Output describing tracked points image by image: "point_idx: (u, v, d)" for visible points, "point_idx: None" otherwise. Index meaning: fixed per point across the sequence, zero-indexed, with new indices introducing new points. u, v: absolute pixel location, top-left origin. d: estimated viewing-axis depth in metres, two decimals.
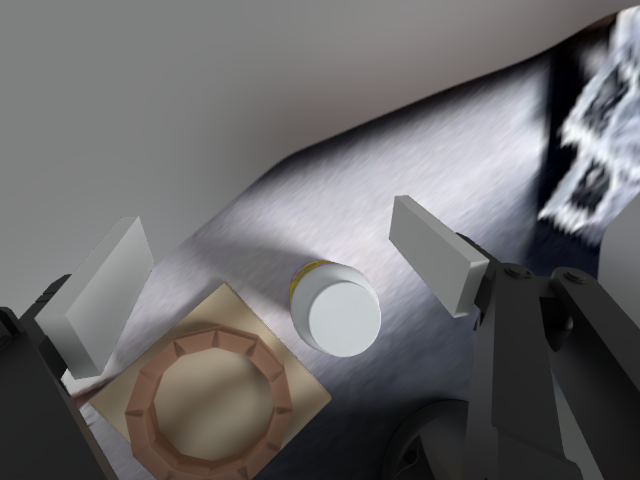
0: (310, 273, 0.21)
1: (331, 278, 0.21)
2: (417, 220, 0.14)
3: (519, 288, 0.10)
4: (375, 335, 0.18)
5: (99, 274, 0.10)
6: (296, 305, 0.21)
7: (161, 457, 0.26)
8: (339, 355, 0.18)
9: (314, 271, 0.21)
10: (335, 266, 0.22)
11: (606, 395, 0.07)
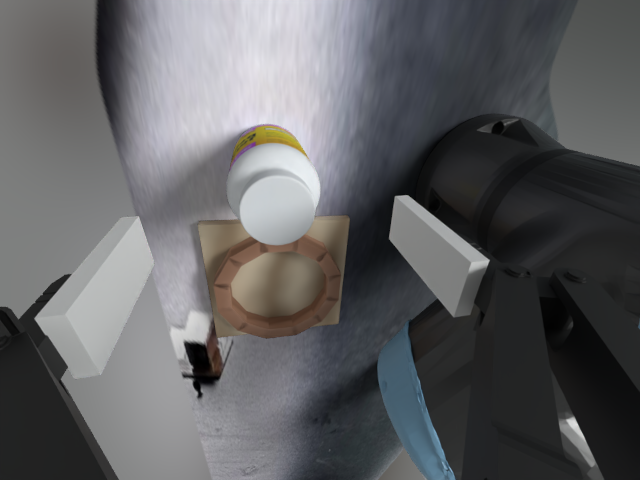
0: (226, 189, 0.20)
1: (243, 181, 0.19)
2: (417, 220, 0.14)
3: (519, 288, 0.10)
4: (312, 201, 0.18)
5: (99, 274, 0.10)
6: None
7: (280, 328, 0.36)
8: (299, 237, 0.19)
9: (227, 185, 0.20)
10: (237, 164, 0.19)
11: (606, 395, 0.07)
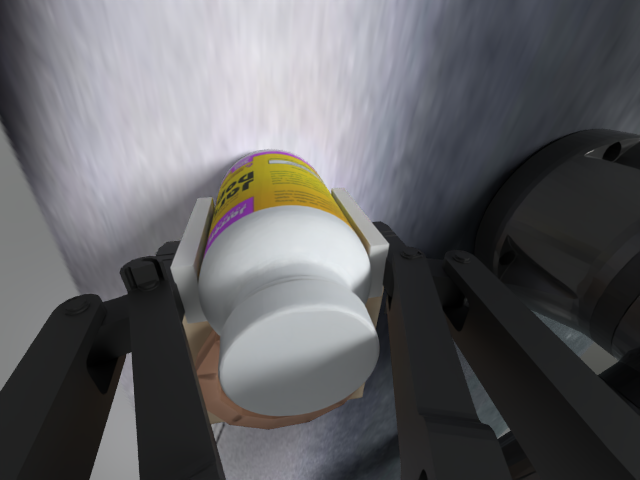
0: (199, 293, 0.10)
1: (229, 287, 0.09)
2: (343, 210, 0.15)
3: (414, 269, 0.10)
4: (375, 342, 0.08)
5: (201, 239, 0.12)
6: None
7: (287, 416, 0.27)
8: (343, 398, 0.09)
9: (199, 287, 0.10)
10: (216, 253, 0.10)
11: (507, 367, 0.08)
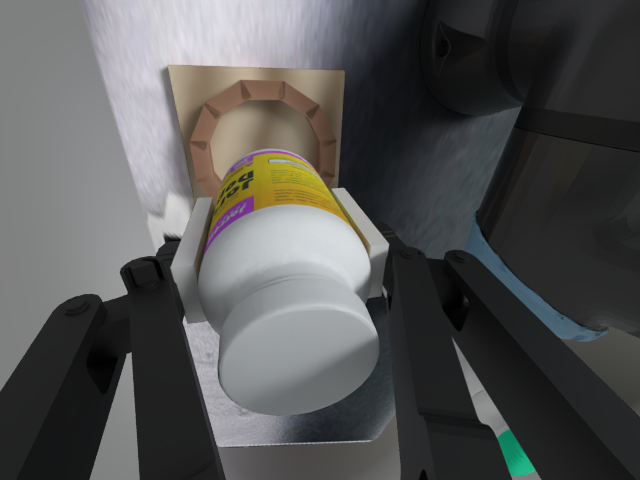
0: (198, 292, 0.10)
1: (229, 287, 0.09)
2: (343, 210, 0.15)
3: (414, 269, 0.10)
4: (375, 341, 0.08)
5: (201, 239, 0.12)
6: None
7: None
8: (343, 397, 0.09)
9: (199, 286, 0.10)
10: (216, 252, 0.09)
11: (507, 367, 0.08)
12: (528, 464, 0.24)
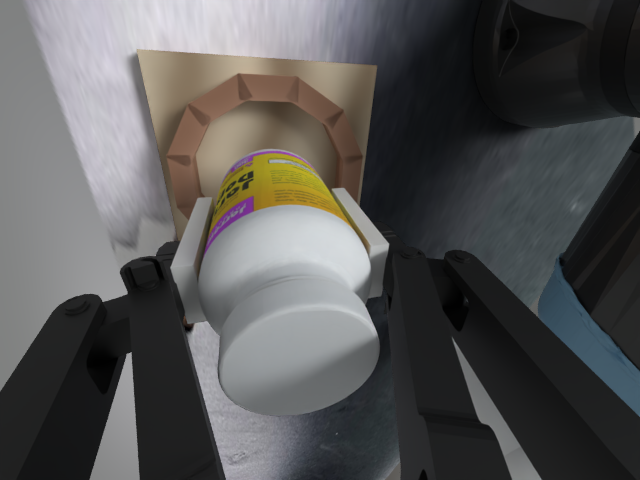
0: (198, 292, 0.10)
1: (229, 287, 0.09)
2: (343, 210, 0.15)
3: (414, 269, 0.10)
4: (375, 342, 0.08)
5: (201, 239, 0.12)
6: None
7: None
8: None
9: (199, 287, 0.10)
10: (216, 252, 0.09)
11: (507, 367, 0.08)
12: None
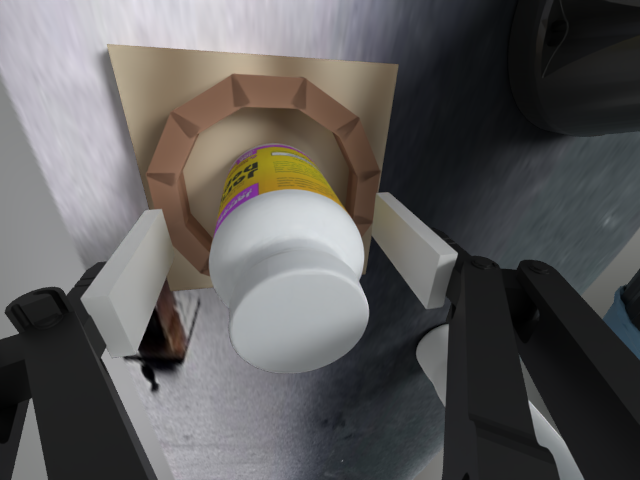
0: (209, 267, 0.12)
1: (237, 260, 0.11)
2: (395, 216, 0.14)
3: (485, 280, 0.10)
4: (364, 305, 0.10)
5: (132, 261, 0.11)
6: None
7: None
8: (338, 358, 0.11)
9: (210, 262, 0.11)
10: (226, 230, 0.11)
11: (574, 384, 0.08)
12: None
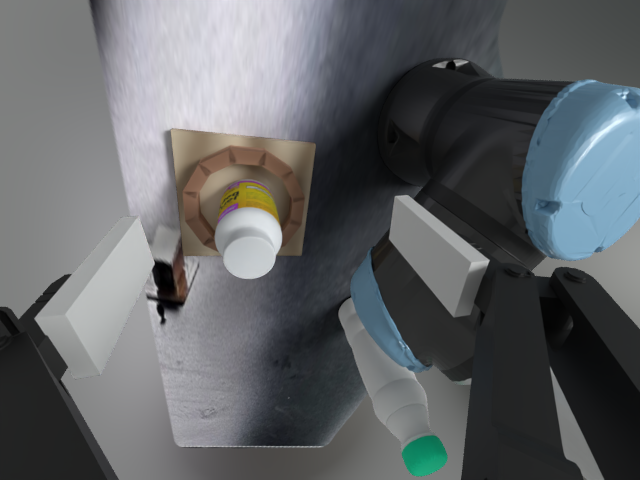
0: (215, 236, 0.28)
1: (227, 233, 0.27)
2: (417, 220, 0.14)
3: (518, 288, 0.10)
4: (273, 252, 0.27)
5: (99, 274, 0.10)
6: None
7: None
8: (264, 274, 0.28)
9: (216, 234, 0.28)
10: (223, 221, 0.28)
11: (606, 395, 0.07)
12: (425, 467, 0.31)
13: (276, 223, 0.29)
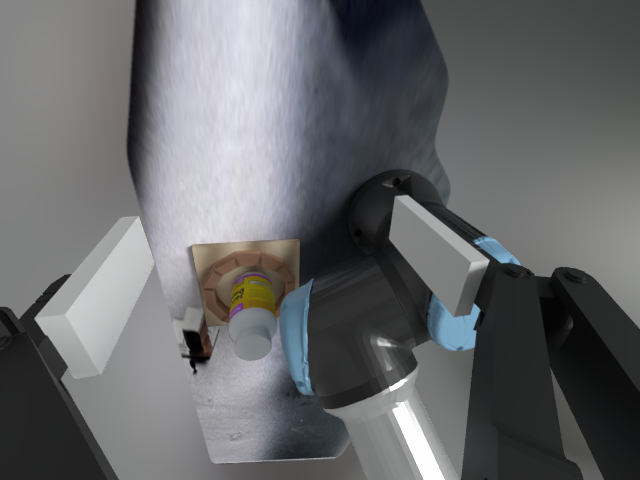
0: (228, 329, 0.40)
1: (236, 329, 0.39)
2: (417, 220, 0.14)
3: (518, 288, 0.10)
4: (269, 342, 0.38)
5: (99, 274, 0.10)
6: None
7: None
8: (264, 356, 0.39)
9: (229, 328, 0.40)
10: (233, 321, 0.39)
11: (606, 395, 0.07)
12: None
13: (271, 316, 0.40)
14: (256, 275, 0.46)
